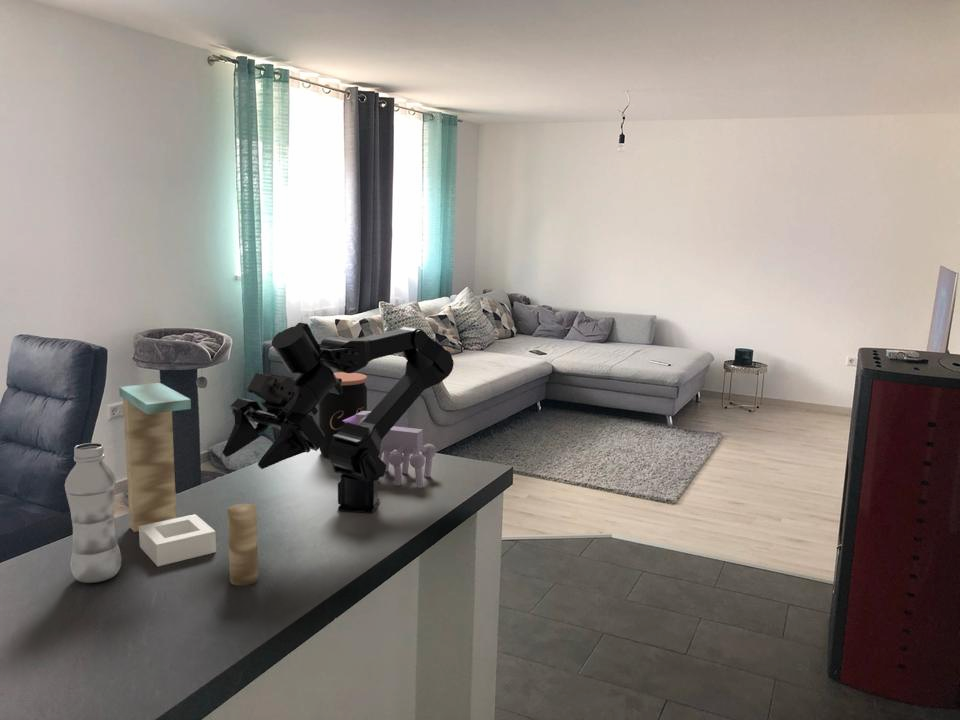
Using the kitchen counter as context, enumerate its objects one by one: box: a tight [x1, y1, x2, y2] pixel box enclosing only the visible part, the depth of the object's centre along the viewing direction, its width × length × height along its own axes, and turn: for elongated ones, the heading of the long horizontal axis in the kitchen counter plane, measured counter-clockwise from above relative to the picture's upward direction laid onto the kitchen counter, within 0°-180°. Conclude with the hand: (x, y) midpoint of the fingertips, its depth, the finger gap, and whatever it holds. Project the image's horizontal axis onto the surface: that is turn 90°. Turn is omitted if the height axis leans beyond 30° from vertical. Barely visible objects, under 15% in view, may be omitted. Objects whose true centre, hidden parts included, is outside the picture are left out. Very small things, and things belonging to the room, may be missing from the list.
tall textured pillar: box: [118, 382, 192, 533], centre depth 127 cm, size 8×15×24 cm, turn 39°
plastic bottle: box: [64, 442, 123, 584], centre depth 112 cm, size 6×7×20 cm
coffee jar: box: [318, 371, 368, 459], centre depth 176 cm, size 11×11×18 cm
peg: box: [227, 503, 259, 587], centre depth 114 cm, size 4×4×11 cm
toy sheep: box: [342, 410, 437, 489], centre depth 162 cm, size 20×11×14 cm, turn 72°
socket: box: [138, 513, 217, 567], centre depth 124 cm, size 9×9×4 cm
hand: (241, 460), depth 123 cm, fingers open, 9 cm apart
